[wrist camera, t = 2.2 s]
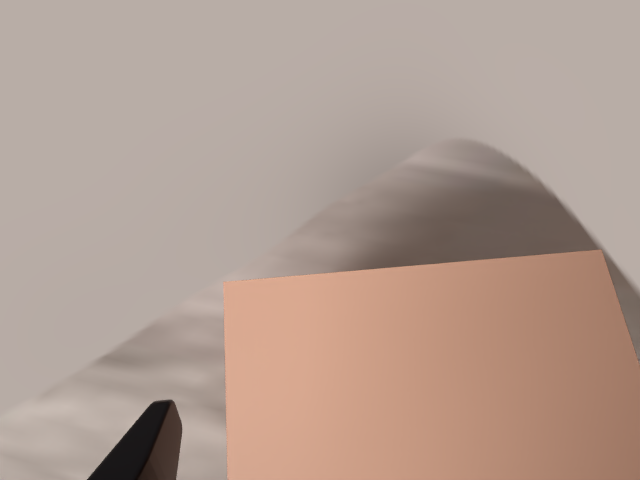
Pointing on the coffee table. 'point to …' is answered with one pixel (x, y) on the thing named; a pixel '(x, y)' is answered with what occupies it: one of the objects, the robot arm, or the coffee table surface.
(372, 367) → the tall block
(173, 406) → the robot arm
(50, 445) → the coffee table surface
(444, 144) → the coffee table surface
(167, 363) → the coffee table surface
